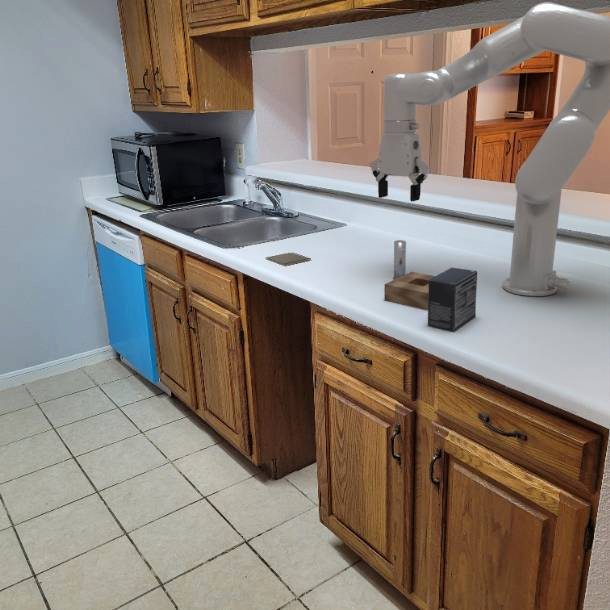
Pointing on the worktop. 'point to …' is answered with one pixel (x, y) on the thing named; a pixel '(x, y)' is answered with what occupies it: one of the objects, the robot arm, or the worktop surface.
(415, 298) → the socket block
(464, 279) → the small box
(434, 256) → the worktop surface
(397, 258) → the pin
